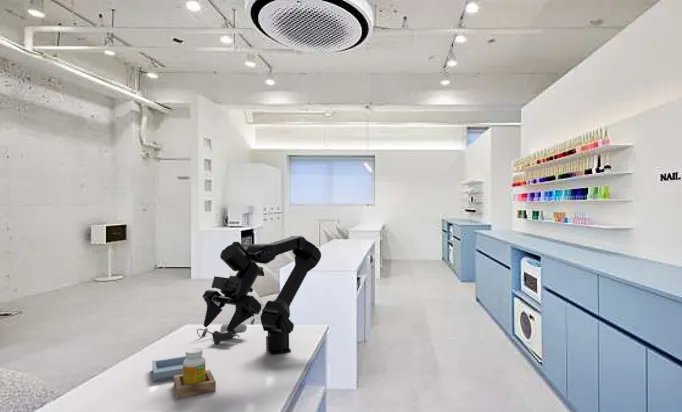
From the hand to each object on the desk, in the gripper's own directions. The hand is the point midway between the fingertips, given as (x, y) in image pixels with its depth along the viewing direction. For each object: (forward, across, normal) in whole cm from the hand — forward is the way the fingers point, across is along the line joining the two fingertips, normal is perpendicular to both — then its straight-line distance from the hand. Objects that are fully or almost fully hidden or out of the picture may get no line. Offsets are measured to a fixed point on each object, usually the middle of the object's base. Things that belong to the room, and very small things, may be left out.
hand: (216, 328), depth 115 cm
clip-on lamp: (-6, -26, +27) cm, 38 cm away
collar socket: (+15, +1, +3) cm, 15 cm away
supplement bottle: (+15, +1, +3) cm, 16 cm away
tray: (+12, -12, +6) cm, 18 cm away
